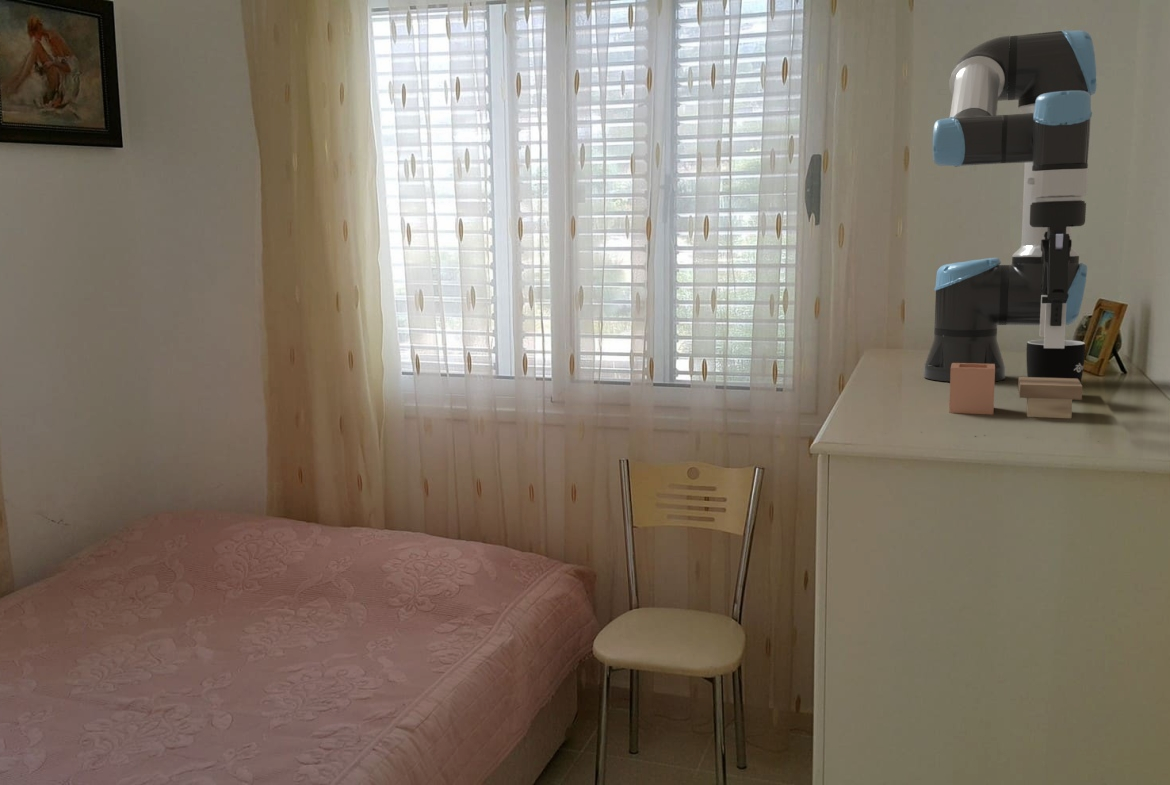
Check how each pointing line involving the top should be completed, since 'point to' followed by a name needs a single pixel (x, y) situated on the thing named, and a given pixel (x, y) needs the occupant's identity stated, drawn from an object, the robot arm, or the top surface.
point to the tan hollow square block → (972, 388)
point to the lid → (1050, 388)
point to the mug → (1055, 360)
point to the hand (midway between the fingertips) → (1051, 342)
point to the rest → (1049, 408)
